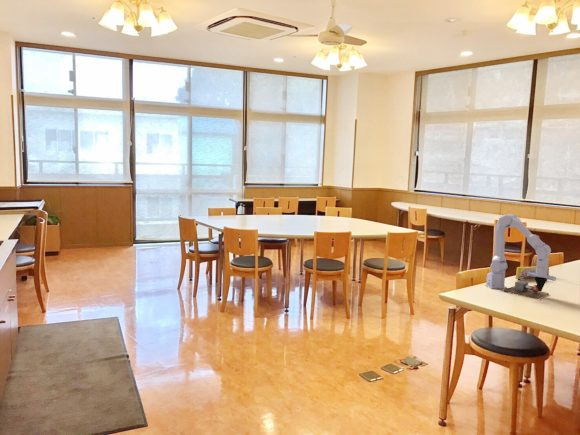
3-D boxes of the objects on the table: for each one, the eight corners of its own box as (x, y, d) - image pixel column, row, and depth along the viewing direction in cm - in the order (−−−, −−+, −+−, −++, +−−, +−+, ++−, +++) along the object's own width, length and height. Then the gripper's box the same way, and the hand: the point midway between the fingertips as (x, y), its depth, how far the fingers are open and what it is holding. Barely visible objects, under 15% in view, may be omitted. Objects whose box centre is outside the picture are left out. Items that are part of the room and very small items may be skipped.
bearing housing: (527, 290, 272) (528, 281, 271) (522, 292, 268) (523, 283, 267) (520, 288, 275) (520, 280, 275) (514, 290, 271) (515, 282, 270)
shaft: (538, 292, 266) (539, 284, 266) (535, 293, 263) (536, 285, 263) (520, 288, 274) (521, 281, 273) (517, 289, 271) (517, 282, 270)
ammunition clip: (548, 276, 311) (550, 258, 310) (547, 277, 310) (549, 259, 309) (531, 274, 318) (532, 256, 317) (530, 274, 317) (531, 256, 316)
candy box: (517, 280, 300) (518, 267, 299) (515, 279, 302) (516, 267, 301) (538, 279, 304) (539, 266, 303) (536, 278, 306) (537, 266, 305)
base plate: (548, 294, 267) (548, 293, 267) (538, 299, 258) (538, 297, 258) (514, 287, 281) (514, 286, 281) (503, 291, 272) (503, 289, 272)
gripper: (558, 268, 259) (556, 292, 261) (531, 263, 270) (529, 286, 272) (553, 270, 255) (551, 294, 256) (526, 265, 265) (524, 288, 267)
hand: (540, 290), depth 264 cm, fingers closed
